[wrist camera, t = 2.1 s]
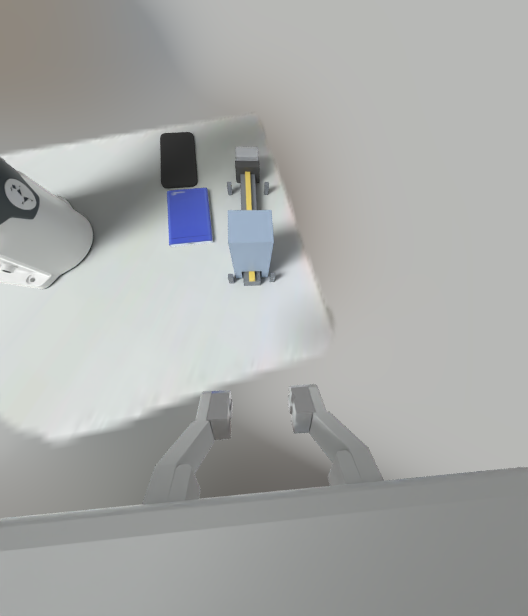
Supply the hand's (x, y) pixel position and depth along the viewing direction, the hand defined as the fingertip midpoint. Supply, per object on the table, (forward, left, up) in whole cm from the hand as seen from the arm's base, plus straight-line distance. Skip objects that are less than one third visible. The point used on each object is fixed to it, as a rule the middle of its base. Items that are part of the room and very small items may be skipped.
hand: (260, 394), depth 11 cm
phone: (-15, +45, -24) cm, 53 cm away
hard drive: (-12, +30, -24) cm, 41 cm away
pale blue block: (0, +19, -23) cm, 30 cm away
